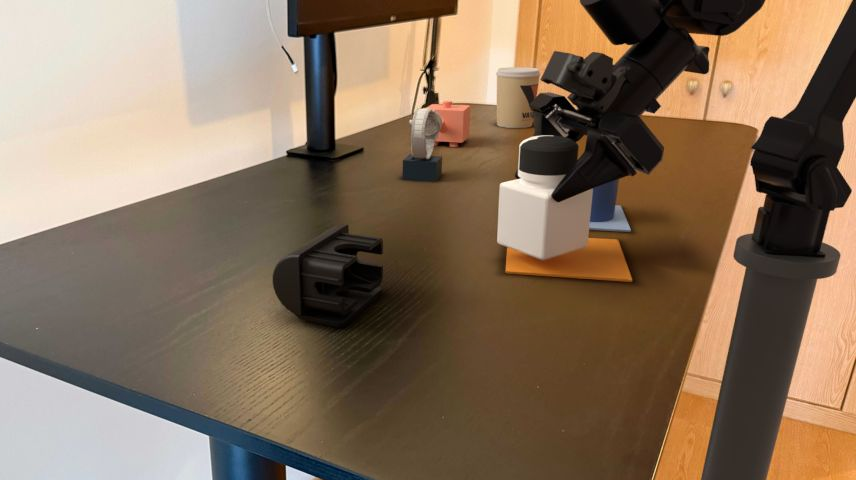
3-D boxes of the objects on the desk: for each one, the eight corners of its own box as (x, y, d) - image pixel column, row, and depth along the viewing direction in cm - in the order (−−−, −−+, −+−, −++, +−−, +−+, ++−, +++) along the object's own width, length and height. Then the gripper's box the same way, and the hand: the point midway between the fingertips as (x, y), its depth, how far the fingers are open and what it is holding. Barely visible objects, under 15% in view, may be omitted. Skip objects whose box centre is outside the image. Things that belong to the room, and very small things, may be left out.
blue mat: (620, 207, 99) (620, 205, 99) (630, 232, 89) (631, 230, 89) (539, 203, 101) (539, 201, 101) (540, 227, 91) (540, 225, 91)
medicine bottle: (588, 247, 78) (599, 138, 74) (542, 261, 75) (551, 148, 70) (540, 231, 84) (547, 129, 79) (495, 244, 80) (500, 137, 76)
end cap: (323, 280, 75) (321, 220, 73) (384, 291, 73) (385, 228, 70) (273, 317, 67) (269, 250, 65) (340, 331, 64) (338, 262, 62)
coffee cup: (526, 130, 153) (531, 72, 148) (486, 126, 157) (489, 70, 153) (541, 123, 160) (546, 68, 155) (502, 120, 164) (506, 66, 160)
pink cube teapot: (418, 149, 136) (419, 105, 133) (433, 137, 147) (434, 96, 144) (458, 151, 134) (460, 106, 131) (470, 139, 144) (472, 97, 141)
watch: (443, 172, 119) (446, 105, 115) (433, 184, 112) (435, 113, 108) (411, 170, 121) (412, 104, 116) (399, 181, 114) (400, 112, 109)
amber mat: (617, 241, 86) (618, 239, 86) (632, 282, 74) (632, 279, 74) (508, 235, 89) (508, 233, 88) (505, 273, 77) (505, 270, 77)
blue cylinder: (611, 210, 97) (618, 159, 94) (616, 223, 92) (623, 169, 89) (565, 207, 98) (571, 157, 96) (568, 220, 93) (573, 168, 90)
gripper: (551, 17, 79) (455, 123, 81) (652, 25, 62) (528, 158, 64) (607, 86, 84) (514, 185, 86) (715, 110, 67) (597, 232, 69)
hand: (534, 188), depth 76 cm, fingers closed on medicine bottle, 8 cm apart
